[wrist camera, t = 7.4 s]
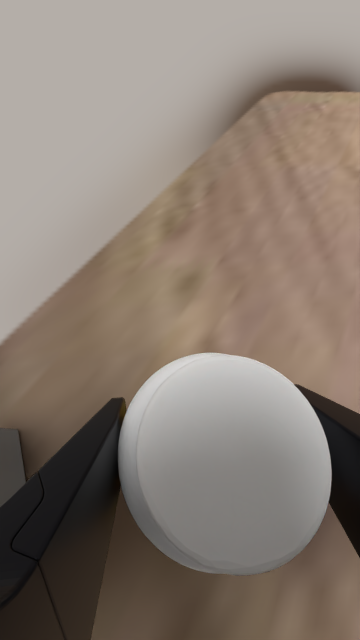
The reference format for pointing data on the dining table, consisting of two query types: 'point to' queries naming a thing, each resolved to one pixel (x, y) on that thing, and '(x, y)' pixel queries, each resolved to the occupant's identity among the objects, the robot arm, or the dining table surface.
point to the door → (10, 464)
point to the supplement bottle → (224, 464)
